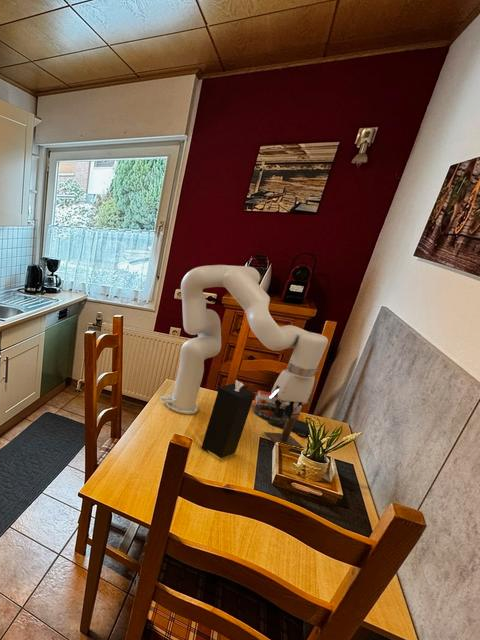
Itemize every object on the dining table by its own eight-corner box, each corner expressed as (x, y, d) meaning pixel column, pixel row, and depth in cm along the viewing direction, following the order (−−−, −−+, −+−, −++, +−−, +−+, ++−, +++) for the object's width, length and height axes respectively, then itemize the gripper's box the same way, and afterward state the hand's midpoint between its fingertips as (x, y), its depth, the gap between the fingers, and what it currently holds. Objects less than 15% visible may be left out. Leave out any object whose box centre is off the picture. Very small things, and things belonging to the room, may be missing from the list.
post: (277, 449, 142) (287, 422, 137) (263, 435, 150) (272, 409, 146) (302, 450, 142) (313, 423, 137) (287, 436, 150) (297, 411, 145)
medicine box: (253, 413, 166) (259, 396, 163) (252, 405, 173) (258, 389, 169) (296, 424, 159) (302, 407, 156) (293, 415, 166) (299, 399, 163)
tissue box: (220, 460, 134) (244, 388, 123) (200, 448, 140) (221, 378, 129) (234, 455, 137) (258, 384, 126) (214, 443, 144) (235, 374, 133)
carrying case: (265, 427, 156) (310, 441, 148) (267, 420, 155) (313, 434, 146) (268, 416, 164) (311, 430, 155) (271, 410, 163) (314, 423, 154)
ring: (262, 423, 131) (264, 418, 130) (246, 407, 141) (248, 402, 140) (294, 425, 131) (296, 420, 130) (276, 409, 140) (277, 404, 140)
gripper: (317, 366, 131) (297, 413, 139) (269, 363, 132) (252, 409, 139) (333, 376, 125) (312, 424, 132) (282, 372, 125) (264, 421, 133)
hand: (281, 416), depth 136 cm, fingers closed on ring, 2 cm apart
